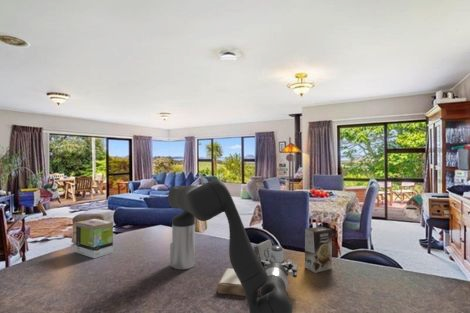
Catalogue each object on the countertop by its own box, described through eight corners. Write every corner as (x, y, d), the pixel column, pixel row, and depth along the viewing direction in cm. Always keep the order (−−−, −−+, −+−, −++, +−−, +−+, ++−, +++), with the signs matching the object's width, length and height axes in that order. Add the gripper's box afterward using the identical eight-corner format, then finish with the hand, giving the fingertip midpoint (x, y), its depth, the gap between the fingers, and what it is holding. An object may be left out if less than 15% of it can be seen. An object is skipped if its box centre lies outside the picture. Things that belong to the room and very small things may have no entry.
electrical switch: (264, 268, 112) (262, 245, 112) (253, 266, 115) (252, 243, 115) (275, 261, 119) (274, 239, 120) (265, 259, 122) (264, 238, 123)
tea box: (113, 252, 130) (113, 221, 130) (93, 259, 121) (93, 226, 121) (95, 246, 138) (95, 217, 138) (75, 252, 129) (75, 221, 129)
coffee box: (315, 273, 107) (315, 232, 107) (304, 267, 112) (304, 228, 112) (332, 269, 111) (332, 229, 111) (320, 263, 117) (320, 225, 116)
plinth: (217, 292, 91) (217, 283, 91) (226, 276, 104) (226, 267, 104) (247, 296, 89) (247, 285, 89) (252, 278, 102) (252, 269, 102)
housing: (269, 285, 97) (269, 249, 97) (270, 278, 102) (270, 244, 102) (283, 286, 96) (284, 250, 96) (284, 280, 101) (284, 245, 101)
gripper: (298, 269, 83) (296, 251, 99) (251, 266, 86) (257, 248, 102) (298, 294, 83) (296, 272, 99) (251, 289, 86) (257, 268, 102)
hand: (276, 260), depth 100 cm, fingers open, 8 cm apart
